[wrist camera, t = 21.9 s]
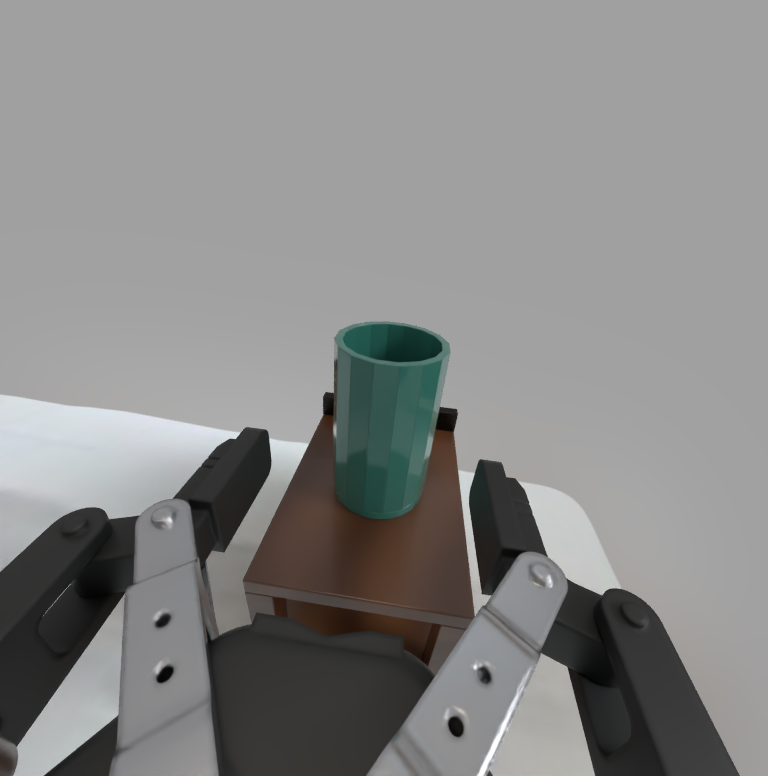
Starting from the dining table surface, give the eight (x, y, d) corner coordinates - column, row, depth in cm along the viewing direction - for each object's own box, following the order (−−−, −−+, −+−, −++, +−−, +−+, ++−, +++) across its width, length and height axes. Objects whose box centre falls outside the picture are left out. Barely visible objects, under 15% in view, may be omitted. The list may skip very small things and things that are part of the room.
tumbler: (322, 511, 20) (321, 356, 15) (344, 448, 25) (348, 316, 20) (421, 527, 19) (453, 372, 14) (422, 459, 24) (447, 328, 19)
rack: (265, 687, 22) (236, 557, 15) (325, 505, 35) (325, 391, 28) (434, 719, 21) (484, 597, 14) (431, 521, 34) (457, 408, 27)
